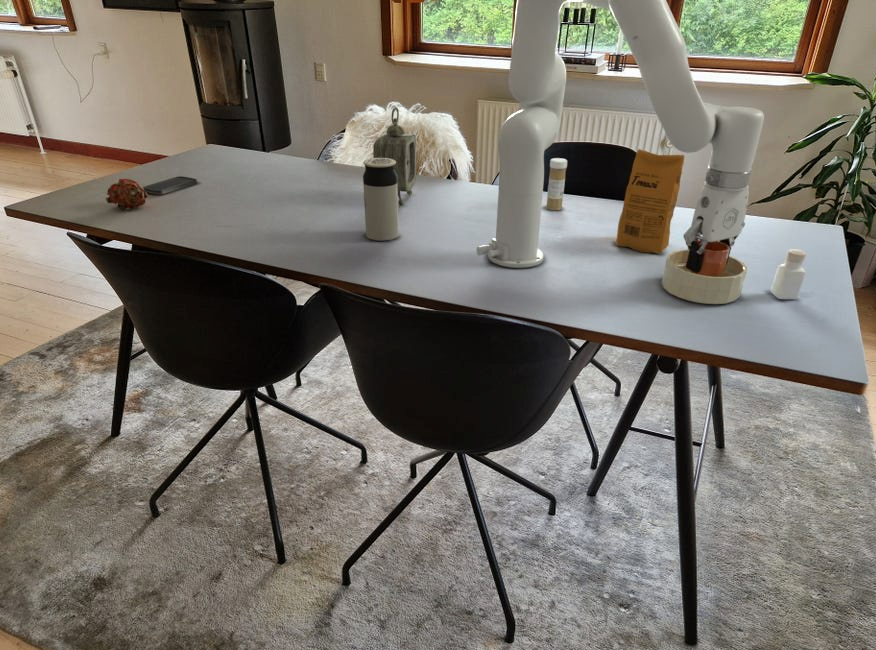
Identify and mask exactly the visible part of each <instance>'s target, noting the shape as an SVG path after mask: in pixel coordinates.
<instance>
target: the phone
mask: <svg viewBox="0 0 876 650" xmlns="http://www.w3.org/2000/svg"><path fill="white" fill-rule="evenodd" d="M197 184H198V179H197V178H193V177H187V176H183V175H179V176H175V177H171V178H168V179H165V180H162V181H157V182H155V183H152V184H151V183H150V184H148V185H144V186H141V187H142V188H143V189H144V190H145V191H146V194H152V195H157V196H158V195H159V196H161V195H166V194H168V193H172V192H175V191H179V190H181V189H185V188H188V187H191V186H194V185H197Z"/></svg>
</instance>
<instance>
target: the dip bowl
mask: <svg viewBox="0 0 876 650" xmlns="http://www.w3.org/2000/svg"><path fill="white" fill-rule="evenodd" d="M701 242H702V240H698V241H697V243H698V245H700V243H701ZM730 247H731V246H730ZM730 247H729V246H728V245H727V244H725V243H723V242H720V241H715V242H708V243H707V245H706V247H705V248H704V250H703V252H702V253H703V254H704V258H703V262H702V266H701V271H700V272H699V273H696V272H693V271H691V270H689V271H690V272H692V273H694V274H698V275H704V276H711V277H718V276H720V275H721V274H722V273H724V270H725V266H726V262H727V259H728V255H729V251H730ZM730 252H731V251H730ZM729 256H730V255H729Z"/></svg>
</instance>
